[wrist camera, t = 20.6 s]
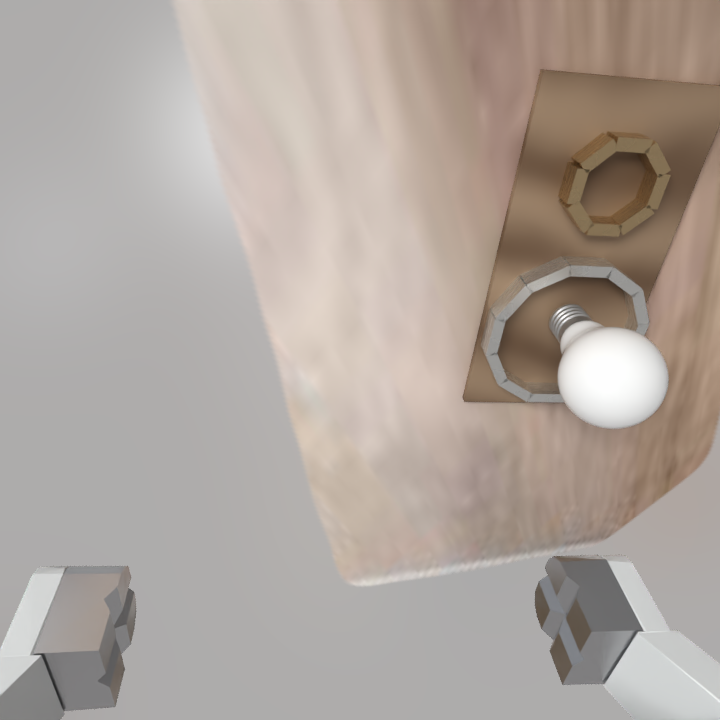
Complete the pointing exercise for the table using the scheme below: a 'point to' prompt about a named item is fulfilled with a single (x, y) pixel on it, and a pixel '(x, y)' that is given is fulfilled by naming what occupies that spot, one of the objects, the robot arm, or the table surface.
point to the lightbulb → (607, 370)
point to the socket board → (601, 195)
